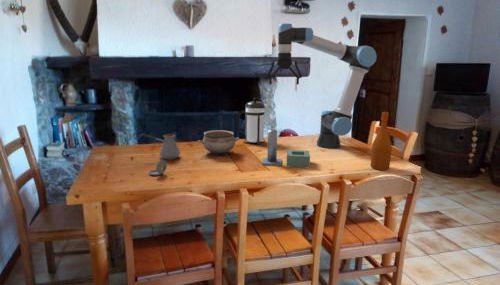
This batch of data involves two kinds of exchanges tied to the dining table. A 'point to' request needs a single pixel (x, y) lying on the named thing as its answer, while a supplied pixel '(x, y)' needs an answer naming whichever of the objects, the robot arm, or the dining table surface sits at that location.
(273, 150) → the metal peg
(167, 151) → the coffee pot
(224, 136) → the cooking pot
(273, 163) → the slate mat
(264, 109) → the coffee press
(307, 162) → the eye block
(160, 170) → the pocket watch
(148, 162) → the dining table surface
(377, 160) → the wine bottle
